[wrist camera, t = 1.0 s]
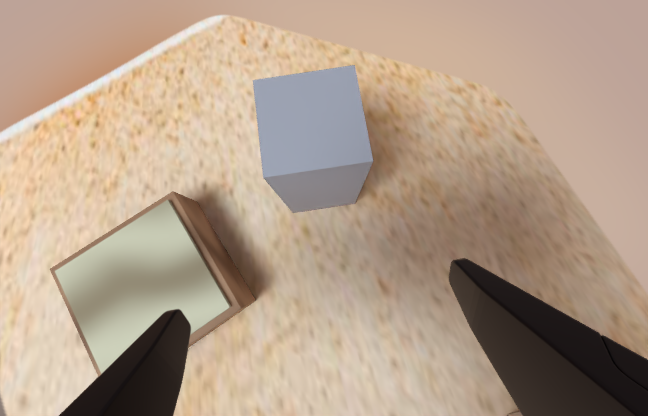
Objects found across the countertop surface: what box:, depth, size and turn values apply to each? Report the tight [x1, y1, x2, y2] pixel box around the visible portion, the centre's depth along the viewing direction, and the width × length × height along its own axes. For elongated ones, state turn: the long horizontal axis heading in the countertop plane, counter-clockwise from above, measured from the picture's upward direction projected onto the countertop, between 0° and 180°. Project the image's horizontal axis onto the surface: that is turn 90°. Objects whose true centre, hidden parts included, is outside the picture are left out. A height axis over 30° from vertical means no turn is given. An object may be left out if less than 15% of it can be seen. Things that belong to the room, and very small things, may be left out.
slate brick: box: [253, 65, 373, 213], centre depth 18 cm, size 5×5×10 cm
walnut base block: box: [50, 192, 256, 377], centre depth 20 cm, size 10×10×4 cm
